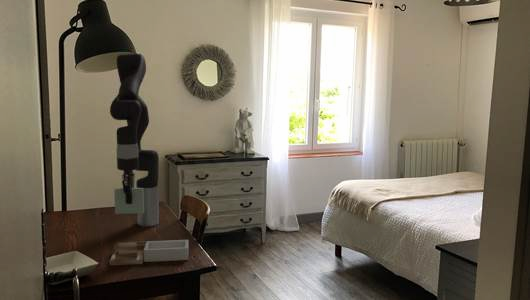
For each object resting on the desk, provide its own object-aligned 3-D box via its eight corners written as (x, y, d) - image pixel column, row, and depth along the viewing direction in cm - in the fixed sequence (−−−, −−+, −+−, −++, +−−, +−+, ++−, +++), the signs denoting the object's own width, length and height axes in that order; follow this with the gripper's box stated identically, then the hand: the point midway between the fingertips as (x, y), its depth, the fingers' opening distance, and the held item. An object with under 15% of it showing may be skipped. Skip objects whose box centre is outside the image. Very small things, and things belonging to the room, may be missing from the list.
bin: (147, 252, 174) (146, 241, 173) (188, 250, 176) (188, 239, 175) (144, 261, 165) (143, 250, 164) (188, 259, 167) (187, 248, 166)
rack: (116, 251, 174) (116, 242, 174) (146, 250, 176) (146, 241, 176) (109, 265, 161) (109, 255, 161) (142, 263, 163) (142, 254, 162)
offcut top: (119, 250, 164) (118, 243, 164) (136, 249, 166) (136, 242, 165) (118, 254, 161) (118, 247, 160) (136, 252, 162) (136, 245, 162)
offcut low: (117, 257, 165) (117, 250, 165) (137, 256, 166) (137, 249, 166) (115, 260, 161) (115, 253, 161) (136, 259, 162) (136, 253, 162)
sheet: (116, 212, 171) (115, 188, 170) (144, 211, 173) (143, 187, 171) (115, 213, 170) (114, 189, 168) (143, 213, 171) (142, 188, 170)
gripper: (120, 153, 174) (121, 198, 177) (113, 159, 161) (115, 208, 163) (140, 153, 175) (142, 198, 178) (135, 158, 162) (137, 207, 164)
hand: (129, 202), depth 171 cm, fingers closed on sheet, 1 cm apart
